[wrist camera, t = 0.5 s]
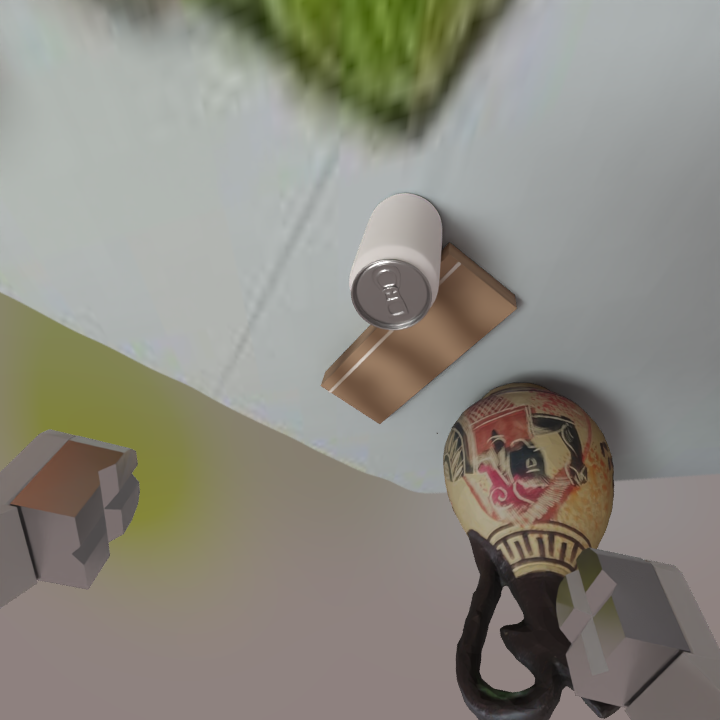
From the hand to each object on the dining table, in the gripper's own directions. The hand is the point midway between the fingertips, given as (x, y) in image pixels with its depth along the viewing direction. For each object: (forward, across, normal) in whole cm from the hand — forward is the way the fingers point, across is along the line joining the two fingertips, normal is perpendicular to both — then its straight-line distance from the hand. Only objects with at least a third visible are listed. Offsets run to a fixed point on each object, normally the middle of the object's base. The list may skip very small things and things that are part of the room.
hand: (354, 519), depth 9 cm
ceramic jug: (+39, -17, +24) cm, 49 cm away
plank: (+39, -4, +17) cm, 42 cm away
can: (+38, -1, +6) cm, 38 cm away
